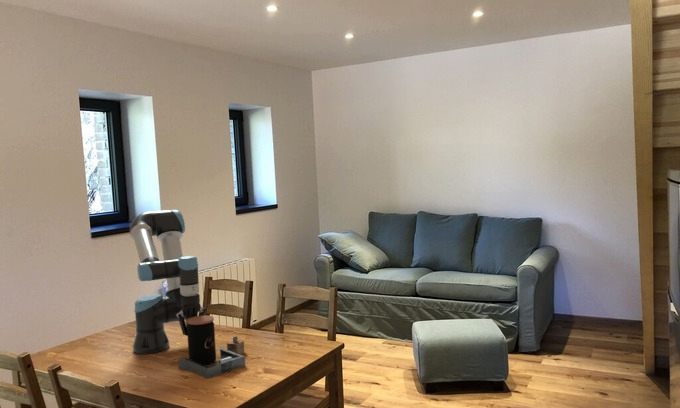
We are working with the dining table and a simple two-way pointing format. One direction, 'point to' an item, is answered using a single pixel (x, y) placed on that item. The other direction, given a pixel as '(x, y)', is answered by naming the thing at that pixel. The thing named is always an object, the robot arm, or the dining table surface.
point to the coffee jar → (201, 339)
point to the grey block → (236, 346)
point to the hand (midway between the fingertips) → (193, 350)
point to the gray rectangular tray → (225, 364)
